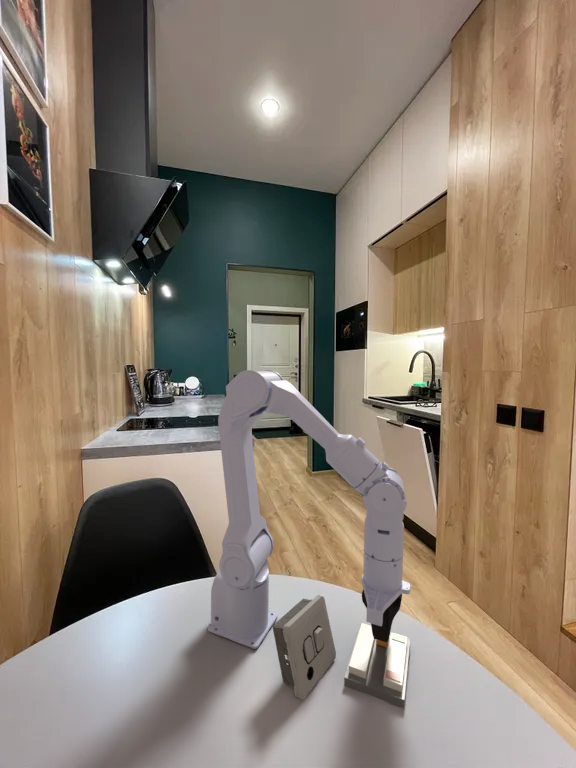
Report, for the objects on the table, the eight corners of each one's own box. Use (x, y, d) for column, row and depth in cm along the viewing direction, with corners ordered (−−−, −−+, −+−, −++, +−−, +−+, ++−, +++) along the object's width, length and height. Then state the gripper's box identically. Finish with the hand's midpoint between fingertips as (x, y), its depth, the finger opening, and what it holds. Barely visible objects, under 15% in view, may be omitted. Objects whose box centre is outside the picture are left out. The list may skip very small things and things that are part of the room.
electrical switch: (301, 705, 45) (296, 634, 45) (271, 685, 48) (267, 619, 48) (337, 658, 52) (333, 597, 53) (309, 644, 56) (306, 587, 56)
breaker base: (344, 685, 48) (344, 669, 48) (360, 630, 58) (360, 617, 58) (404, 708, 45) (404, 692, 45) (410, 646, 55) (410, 632, 55)
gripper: (407, 586, 43) (404, 689, 44) (414, 535, 56) (411, 615, 57) (352, 572, 46) (349, 668, 47) (371, 527, 59) (369, 602, 60)
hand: (380, 638), depth 52 cm, fingers closed
